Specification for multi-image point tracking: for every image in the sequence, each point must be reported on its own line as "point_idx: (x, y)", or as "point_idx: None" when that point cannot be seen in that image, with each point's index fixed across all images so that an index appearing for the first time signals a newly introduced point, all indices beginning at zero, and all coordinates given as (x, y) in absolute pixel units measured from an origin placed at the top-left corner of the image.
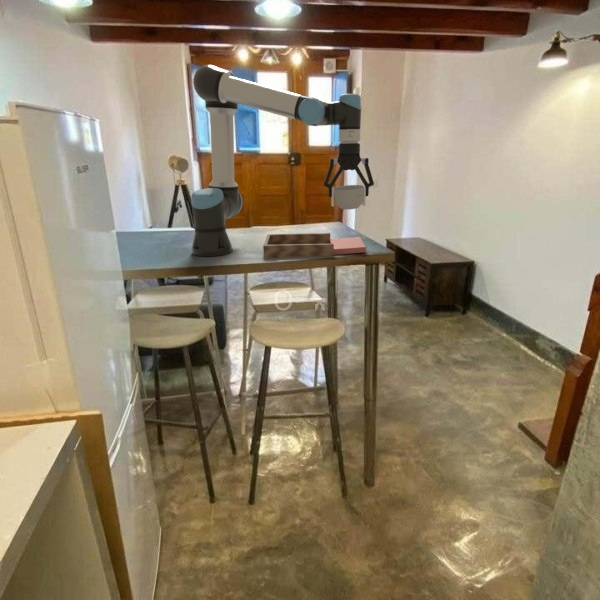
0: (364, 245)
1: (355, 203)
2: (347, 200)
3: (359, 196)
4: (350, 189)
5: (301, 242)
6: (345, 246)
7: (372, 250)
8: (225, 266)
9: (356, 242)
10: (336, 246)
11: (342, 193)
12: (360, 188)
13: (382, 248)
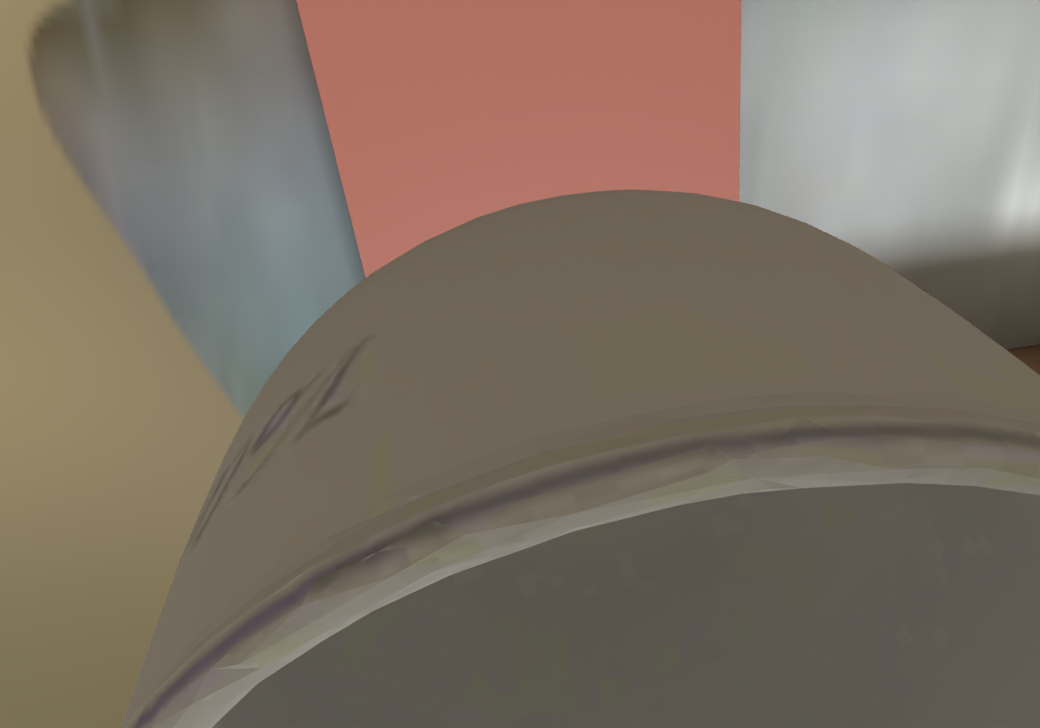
0: (312, 34)
1: (424, 243)
2: (710, 215)
3: (269, 425)
4: (714, 427)
5: (1031, 363)
6: (569, 19)
7: (248, 174)
8: None
9: (433, 222)
10: (686, 42)
11: (1021, 379)
12: (143, 702)
13: (150, 273)
